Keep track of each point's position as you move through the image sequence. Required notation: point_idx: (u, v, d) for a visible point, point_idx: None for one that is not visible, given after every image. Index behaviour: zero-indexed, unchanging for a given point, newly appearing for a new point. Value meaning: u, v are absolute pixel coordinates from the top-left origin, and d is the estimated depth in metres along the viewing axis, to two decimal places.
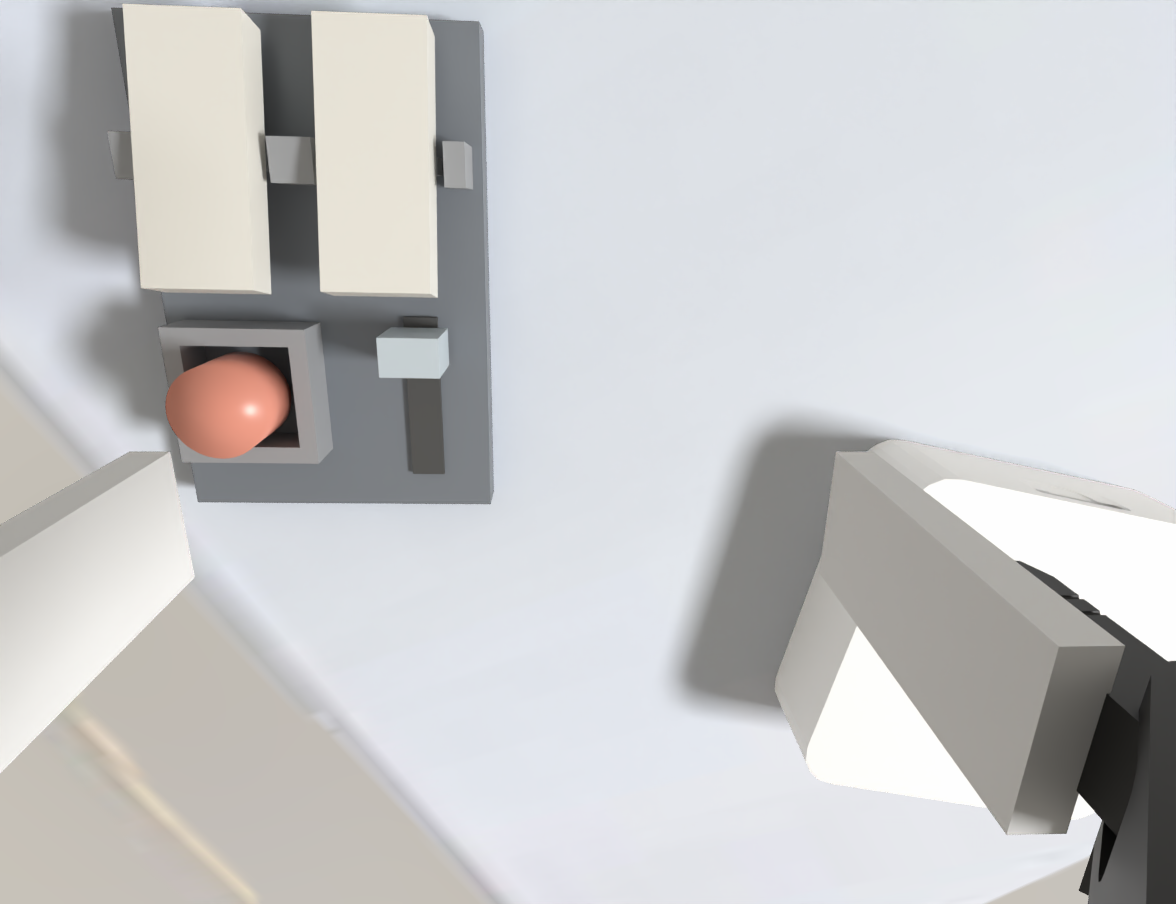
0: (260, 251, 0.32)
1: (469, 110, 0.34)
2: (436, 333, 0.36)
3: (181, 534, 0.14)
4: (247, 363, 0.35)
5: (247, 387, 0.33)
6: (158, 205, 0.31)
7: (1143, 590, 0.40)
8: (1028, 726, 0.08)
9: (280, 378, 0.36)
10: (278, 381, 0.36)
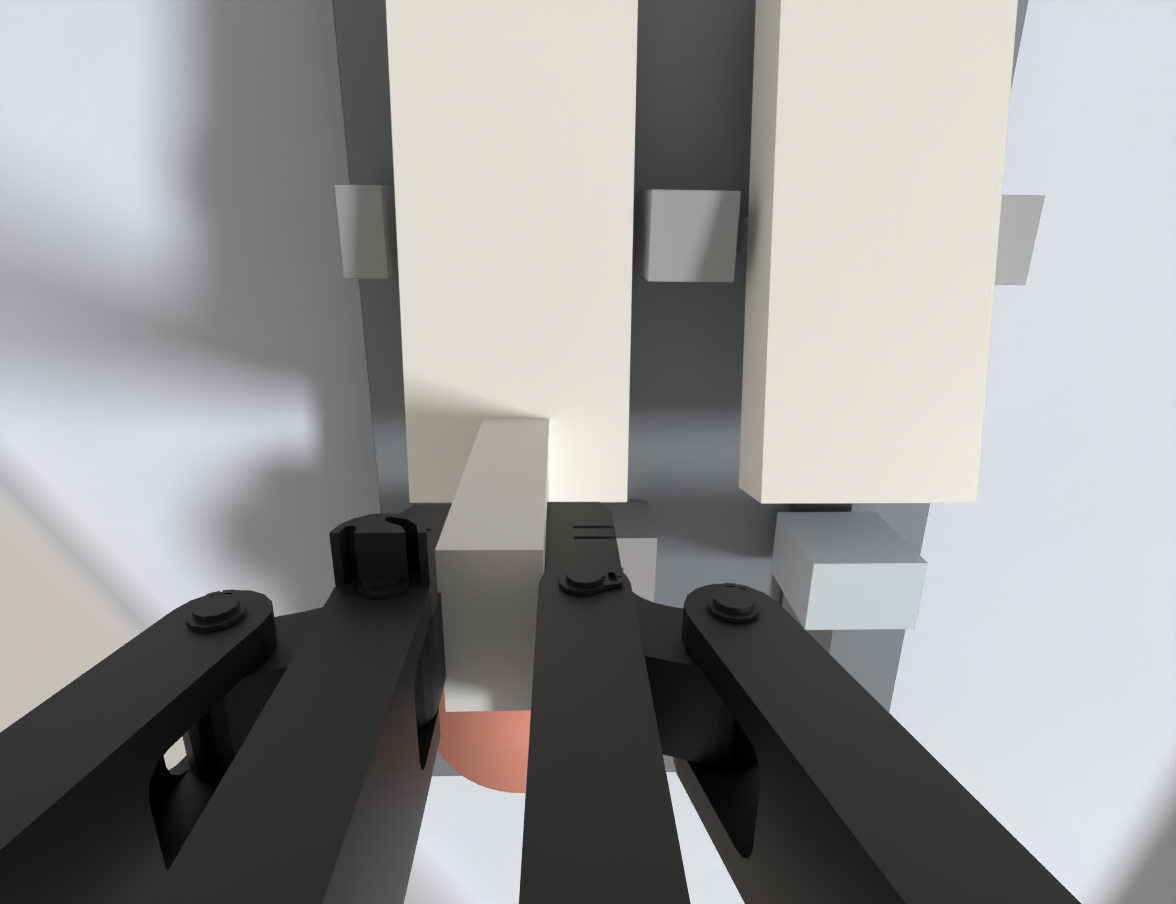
0: None
1: None
2: (889, 536, 0.19)
3: None
4: None
5: None
6: (448, 342, 0.15)
7: None
8: None
9: None
10: None
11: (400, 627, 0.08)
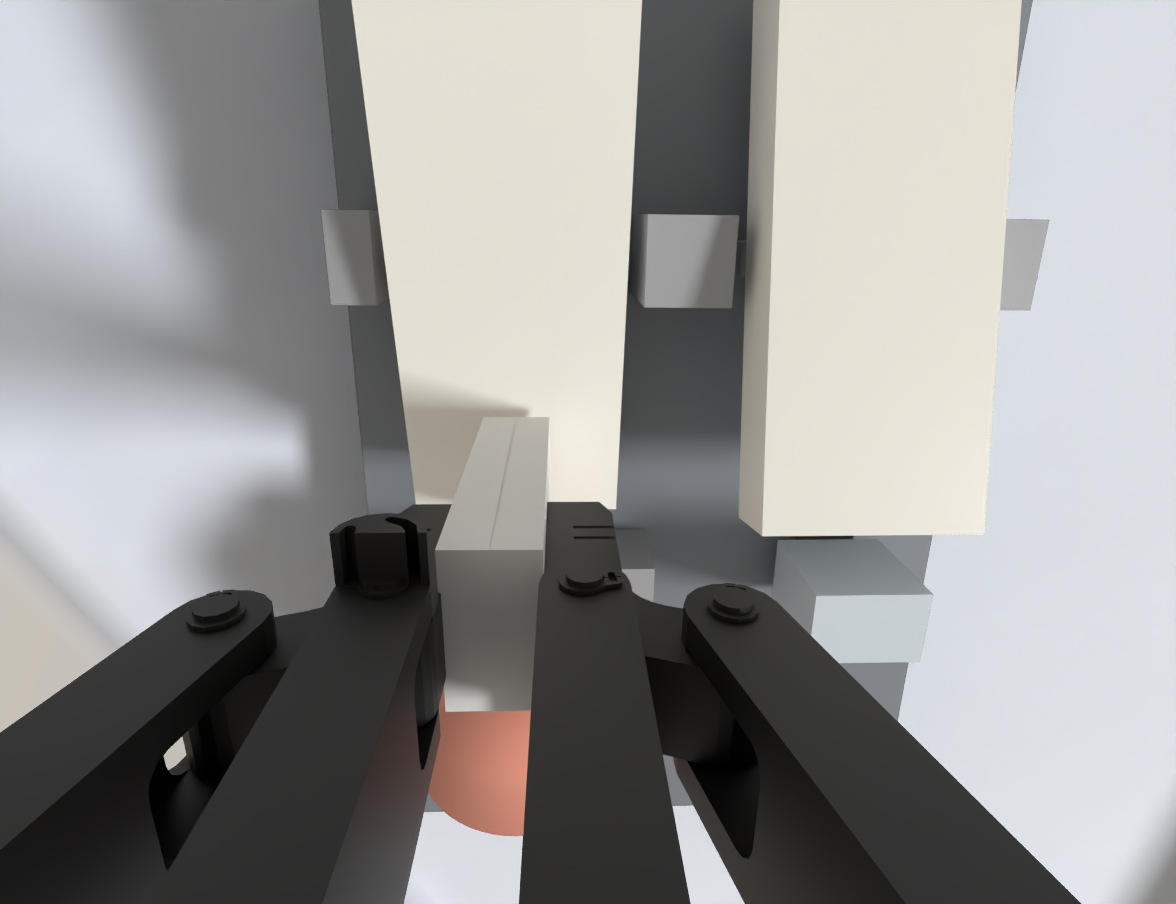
0: None
1: None
2: (893, 566, 0.19)
3: None
4: None
5: None
6: (444, 377, 0.16)
7: None
8: None
9: None
10: None
11: (400, 627, 0.08)
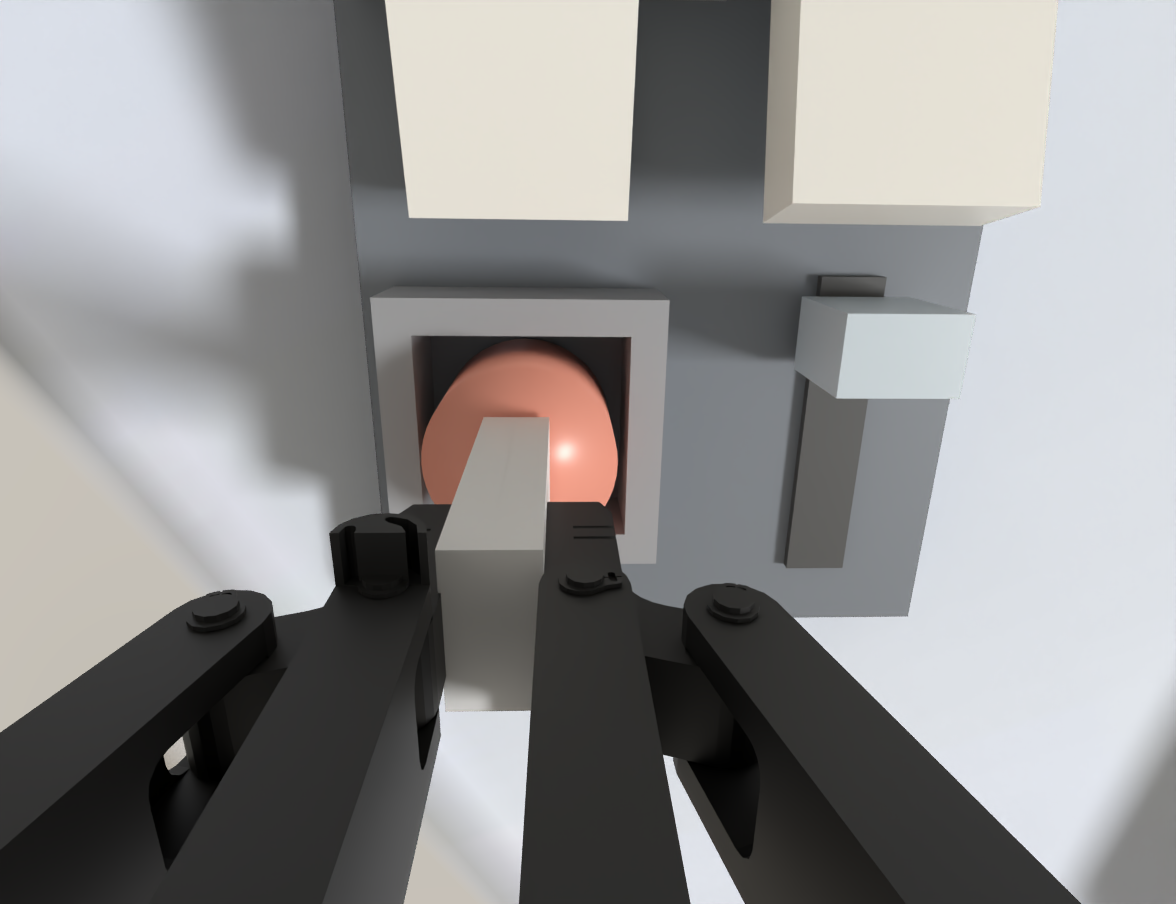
0: None
1: None
2: (929, 305, 0.17)
3: None
4: (562, 360, 0.17)
5: (593, 410, 0.16)
6: (438, 32, 0.14)
7: None
8: None
9: (600, 388, 0.19)
10: (603, 395, 0.19)
11: (400, 627, 0.08)
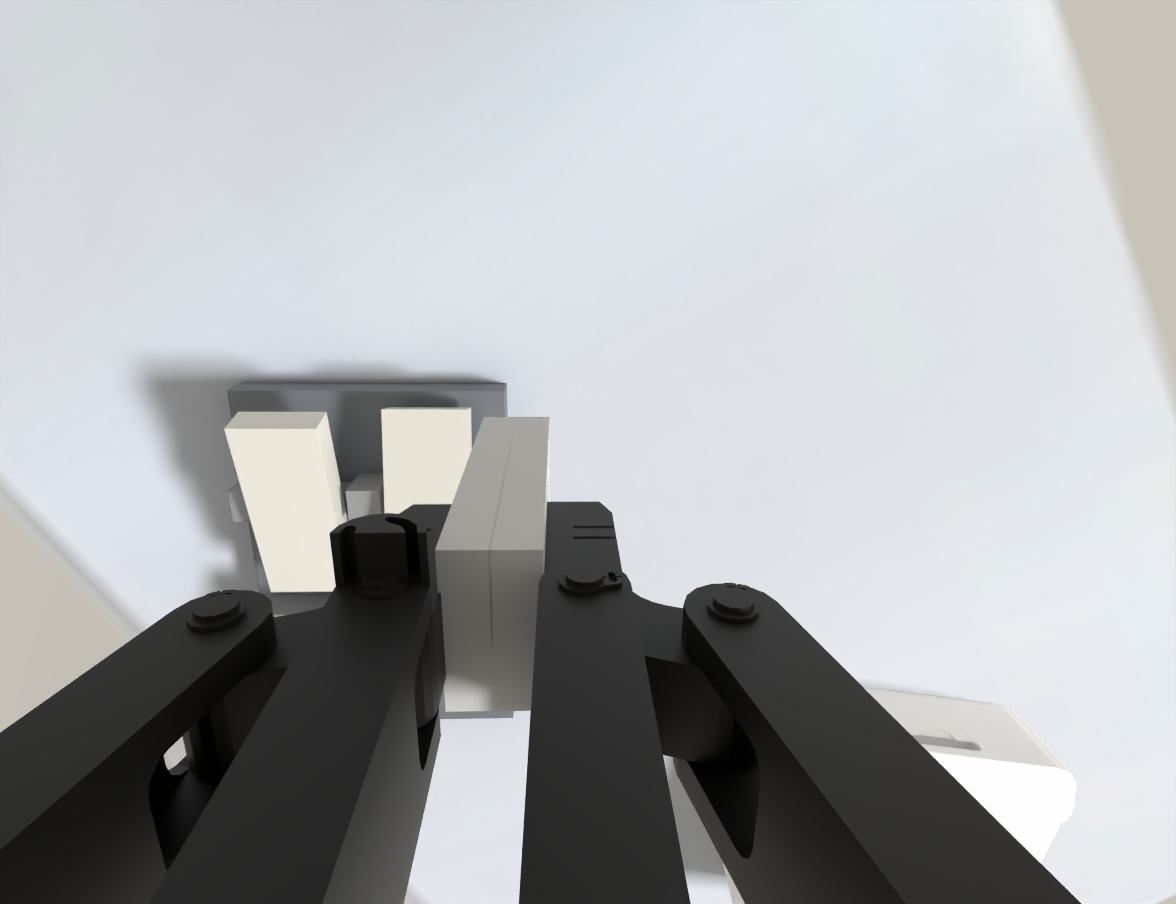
0: None
1: None
2: None
3: None
4: None
5: None
6: (274, 547, 0.43)
7: (996, 808, 0.50)
8: None
9: None
10: None
11: (400, 627, 0.08)
